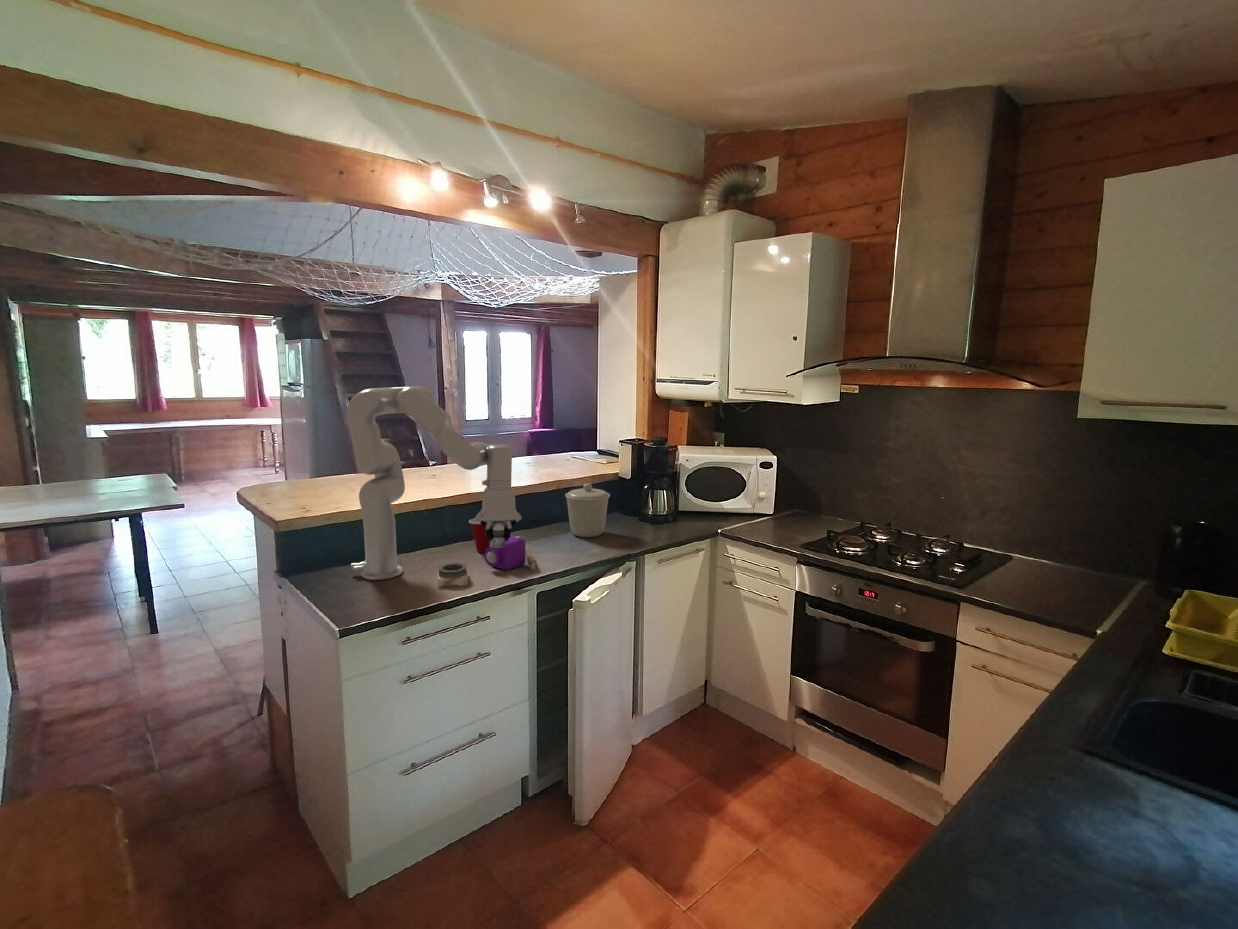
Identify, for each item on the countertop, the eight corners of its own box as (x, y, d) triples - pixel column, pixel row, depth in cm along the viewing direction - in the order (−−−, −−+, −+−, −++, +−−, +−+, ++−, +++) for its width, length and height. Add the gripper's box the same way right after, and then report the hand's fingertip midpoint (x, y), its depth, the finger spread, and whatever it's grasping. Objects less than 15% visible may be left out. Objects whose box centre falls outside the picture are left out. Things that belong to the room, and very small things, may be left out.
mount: (438, 587, 187) (437, 573, 186) (438, 577, 195) (437, 564, 195) (468, 584, 189) (467, 570, 189) (466, 575, 198) (466, 561, 197)
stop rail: (530, 570, 203) (530, 560, 203) (525, 557, 217) (524, 548, 216) (535, 570, 204) (535, 560, 203) (529, 557, 217) (529, 548, 216)
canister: (596, 526, 260) (596, 478, 257) (617, 536, 245) (618, 485, 241) (557, 531, 251) (557, 481, 247) (577, 542, 236) (577, 489, 232)
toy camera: (479, 570, 203) (478, 541, 201) (503, 558, 215) (502, 531, 214) (505, 575, 199) (505, 545, 197) (529, 563, 211) (528, 535, 209)
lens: (490, 548, 191) (491, 523, 189) (489, 543, 195) (490, 519, 194) (506, 547, 192) (506, 522, 191) (504, 543, 196) (505, 518, 195)
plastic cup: (484, 544, 232) (483, 513, 230) (505, 549, 226) (505, 517, 224) (463, 551, 223) (462, 519, 221) (484, 556, 217) (483, 524, 215)
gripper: (471, 486, 184) (471, 544, 187) (527, 486, 189) (526, 542, 192) (470, 482, 191) (470, 537, 194) (524, 481, 196) (523, 536, 199)
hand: (498, 539), depth 193 cm, fingers closed on lens, 4 cm apart
